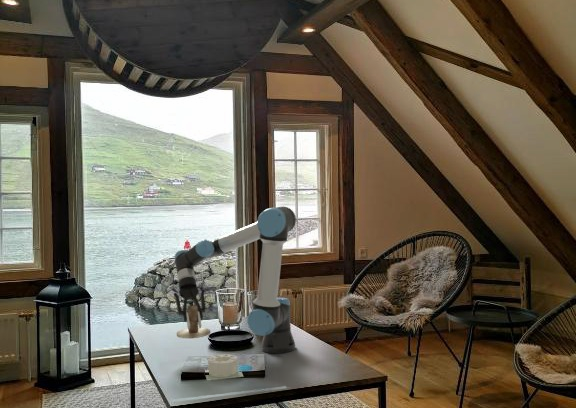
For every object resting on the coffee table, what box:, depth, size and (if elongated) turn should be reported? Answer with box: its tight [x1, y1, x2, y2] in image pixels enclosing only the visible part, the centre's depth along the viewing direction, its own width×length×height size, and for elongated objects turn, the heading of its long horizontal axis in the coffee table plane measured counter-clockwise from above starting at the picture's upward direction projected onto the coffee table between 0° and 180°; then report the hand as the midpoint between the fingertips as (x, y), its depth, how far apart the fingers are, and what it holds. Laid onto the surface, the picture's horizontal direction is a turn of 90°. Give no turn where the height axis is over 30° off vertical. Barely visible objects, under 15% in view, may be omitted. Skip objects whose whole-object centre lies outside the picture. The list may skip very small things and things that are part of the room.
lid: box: [176, 305, 211, 339], centre depth 239 cm, size 14×14×12 cm
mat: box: [205, 371, 244, 381], centre depth 224 cm, size 14×14×1 cm
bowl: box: [207, 353, 239, 378], centre depth 224 cm, size 11×11×6 cm
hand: (194, 326), depth 236 cm, fingers closed on lid, 4 cm apart
